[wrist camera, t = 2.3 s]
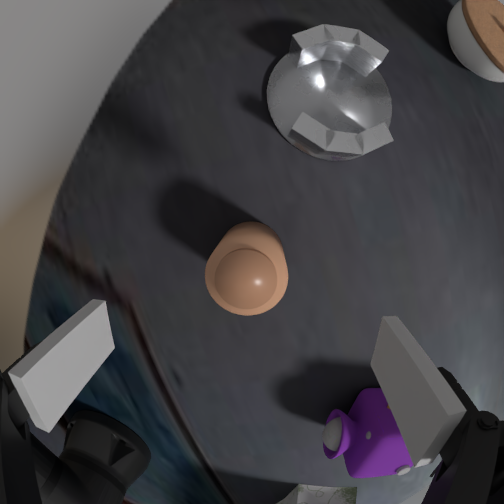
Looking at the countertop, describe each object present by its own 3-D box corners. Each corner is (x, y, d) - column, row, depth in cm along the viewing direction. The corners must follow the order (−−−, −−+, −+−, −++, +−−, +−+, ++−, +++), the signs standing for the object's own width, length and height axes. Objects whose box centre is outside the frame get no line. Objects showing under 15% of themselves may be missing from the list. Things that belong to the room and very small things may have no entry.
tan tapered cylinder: (219, 281, 29) (204, 316, 21) (219, 220, 27) (202, 237, 20) (281, 283, 28) (285, 320, 21) (284, 222, 27) (291, 240, 20)
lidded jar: (506, 90, 21) (554, 80, 12) (454, 91, 22) (507, 73, 13) (475, 18, 18) (514, -5, 9) (418, 10, 20) (455, -25, 11)
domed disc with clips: (265, 156, 25) (265, 151, 21) (268, 40, 22) (268, 16, 18) (389, 167, 25) (413, 167, 20) (386, 56, 22) (406, 38, 17)
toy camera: (322, 385, 32) (336, 448, 22) (420, 373, 31) (453, 422, 21) (312, 438, 34) (319, 494, 25) (399, 426, 34) (419, 474, 24)
